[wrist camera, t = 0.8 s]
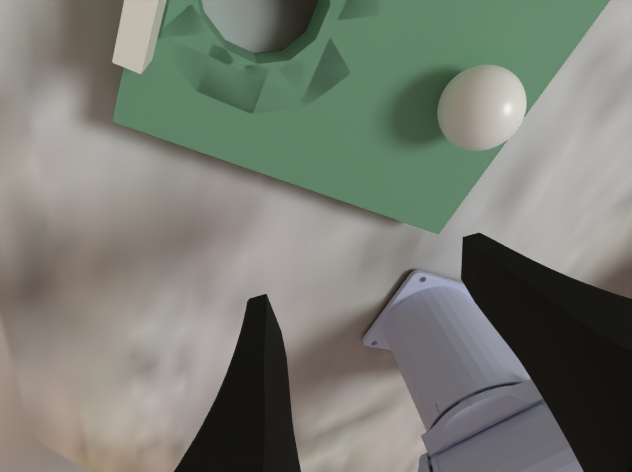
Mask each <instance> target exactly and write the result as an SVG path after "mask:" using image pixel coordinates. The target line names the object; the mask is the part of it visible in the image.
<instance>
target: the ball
mask: <svg viewBox="0 0 632 472" xmlns="http://www.w3.org/2000/svg"><path fill="white" fill-rule="evenodd" d="M526 105H527V101H526V93H525V90H524V87H523V85H522V83H521V82H520V80H519V79H518V78H517V76H516V75H514V74H513V73H512V72H511V71H509V70H507V69H505V68H503V67H500V66H497V65H478V66H474V67H471V68H468V69H466V70H464V71H463V72H461V73H459V74H458V75H457V76H455V77H454V78H453V79H452V80H451V81H450V82H449V83H448V85H447V86H446V87H445V89H444V91H443V93H442V94H441V97H440V100H439V103H438V110H437V117H438V123H439V126H440V129H441V131H442V132H443V134H444V136H445V137H446V138H447V139H448V140H449V141H450V142H451V143H452V144H454V145H456V146H457V147H459V148H462V149H465V150H470V151H482V150H488V149H491V148H494V147H496V146H499V145H500V144H502V143H504V142H505V141H507V140H508V139H509V138H510V137H511V136H512V135H513V134H514V133H515V132H516V131H517V129H518V128H519V126H520V125H521V123H522V121H523V118H524V115H525V112H526Z"/></svg>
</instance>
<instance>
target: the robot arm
mask: <svg viewBox="0 0 632 472" xmlns="http://www.w3.org/2000/svg"><path fill="white" fill-rule="evenodd" d="M422 277H423V278H422ZM420 278H421V279H420ZM461 279H462V281H463V283H462V282H459V281H455V280H452V279H448V278H445V277H441V276H438V275H434V274H431V273H427V272H424V271H420V270H414V271H412V272H411V273H410V274H409V276H408V277H407V278H406V280H405V281H404V283H403V284H402V285H401V287H400V288H399V289H398V291H397V292H396V293H395V295H394V296H393V298H392V299H391V300H390V302H389V303H388V304H387V306H386V307H385V308H384V310H383V311H382V313H381V314H380V315H379V317H378V318H377V319H376V321H375V322H374V323H373V325H372V326H371V328H370V329H369V330H368V332H367V333H366V334H365V336H364V337H363V339H362V342H363V345H364V346H368V347H374V348H380V349H386V350H391V351H392V354H393V356H394V358H395V360H396V363H397V365H398V367H399V369H400V372H401V374H402V376H403V379H404V381H405V383H406V385H407V388H408V390H409V392H410V394H411V397H412V399H413V401H414V404H415V406H416V408H417V410H418V413H419V415H420V417H421V419H422V422H423V424H424V426H425V429H426V431H427V432H426V433H424V434H423V435H422V436H421V437H422V440H423V442H424V444H425V447H426V449H427V451H428V452H427V453H425V454H423V455H421V456H420V459H419V468H418V472H632V299H630V298H627V297H623V296H620V295H617V294H614V293H611V292H608V291H605V290H602V289H599V288H597V287H594V286H591V285H588V284H586V283H583V282H580V281H578V280H575V279H573V278H570V277H568V276H566V275H564V274H561V273H559V272H557V271H554V270H552V269H550V268H548V267H546V266H544V265H541V264H539V263H537V262H535V261H533V260H531V259H529V258H527V257H525V256H523V255H521V254H519V253H517V252H515V251H514V250H512V249H510V248H508V247H506V246H504V245H502V244H500V243H498V242H496V241H495V240H493V239H491V238H489V237H487V236H485V235H483V234H481V233H476V234H473V235H469V236H466V237H463V246H462V270H461ZM174 472H301V469H300V464H299V459H298V453H297V448H296V442H295V437H294V431H293V423H292V413H291V402H290V390H289V379H288V368H287V358H286V352H285V347H284V342H283V338H282V333H281V330H280V327H279V324H278V322H277V319H276V317H275V314H274V312H273V309H272V307H271V304H270V302H269V299H268V297H267V294H264V295H261V296H257V297H254V298H250V299H249V300H248V302H247V307H246V312H245V316H244V320H243V324H242V328H241V332H240V335H239V339H238V342H237V345H236V348H235V352H234V354H233V357H232V360H231V363H230V365H229V368H228V371H227V373H226V376H225V379H224V381H223V383H222V386H221V388H220V390H219V392H218V395H217V397H216V399H215V401H214V403H213V405H212V407H211V409H210V411H209V413H208V415H207V417H206V419H205V421H204V423H203V425H202V426H201V428H200V430H199V432H198V434H197V435H196V437H195V439H194V440H193V442H192V444H191V445H190V447H189V448H188V450H187V452H186V453H185V455H184V457H183V458H182V460H181V461H180V463H179V465H178V466H177V468H176V469H175V471H174Z"/></svg>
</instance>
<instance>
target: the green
mask: <svg viewBox="0 0 632 472" xmlns="http://www.w3.org/2000/svg"><path fill="white" fill-rule="evenodd" d="M609 1H610V0H318V2H317V5H316V7H315V10H314V12H313V15H312V17H311V19H310V22H309V24H308V27H307V29H306V32H304V33H303V34H302V35H301V36H299V37H298V38H297V39H296V40H294V41H293V42H292V43H291V44H289V45H288V46H287V47H286V48H284V49H283V50H281V51H272V52H262V53H251V52H249V51H247V50H245V49H243V48H241V47H239V46H237V45H235V44H232V43H230V42H228V41H226V40H225V39H224V38H223V37H222V35H221V34H220V33H219V31H218V30H217V29H216V27H215V26H214V25H213V23H212V22H211V21H210V19H209V18H208V17H207V15H206V14H205V13H204V10H203V5H202V1H201V0H124V4H123V9H122V14H121V19H120V24H119V29H118V34H117V39H116V45H115V50H114V55H113V60H112V63H114V64H117V65H119V66H122V67H123V72H122V76H121V81H120V86H119V91H118V95H117V100H116V105H115V110H114V114H113V119H112V122H114V123H117V124H120V125H123V126H126V127H128V128H131V129H134V130H137V131H140V132H143V133H146V134H149V135H152V136H155V137H157V138H160V139H163V140H166V141H169V142H172V143H175V144H178V145H181V146H184V147H186V148H189V149H192V150H195V151H198V152H201V153H204V154H207V155H210V156H213V157H215V158H218V159H221V160H224V161H227V162H230V163H233V164H236V165H239V166H242V167H244V168H247V169H250V170H253V171H256V172H259V173H262V174H265V175H268V176H271V177H274V178H276V179H279V180H282V181H285V182H288V183H291V184H294V185H297V186H300V187H303V188H305V189H308V190H311V191H314V192H317V193H320V194H323V195H326V196H329V197H332V198H334V199H337V200H340V201H343V202H346V203H349V204H352V205H355V206H358V207H361V208H363V209H366V210H369V211H372V212H375V213H378V214H381V215H384V216H387V217H390V218H392V219H395V220H398V221H401V222H404V223H407V224H410V225H413V226H416V227H419V228H421V229H424V230H427V231H430V232H433V233H436V234H439V233H440V232H441V230H442V229H443V227H444V226H445V225H446V223H447V222H448V221H449V219H450V218H451V217H452V215H453V214H454V212H455V211H456V210H457V208H458V207H459V206H460V204H461V203H462V202H463V200H464V199H465V197H466V196H467V195H468V193H469V192H470V191H471V189H472V188H473V187H474V185H475V184H476V182H477V181H478V180H479V178H480V177H481V176H482V174H483V173H484V172H485V170H486V169H487V167H488V166H489V165H490V163H491V162H492V161H493V159H494V158H495V157H496V155H497V154H498V152H499V151H500V150H501V148H502V147H503V146H504V144H505V143H506V142H507V141H505V142H504V143H502V144H500V145H499V146H496V147H494V148H491V149H488V150H482V151H470V150H465V149H462V148H459V147H457V146H456V145H454V144H452V143H451V142H450V141H449V140H448V139H447V138H446V137H445V136H444V134H443V132H442V131H441V129H440V126H439V123H438V117H437V110H438V103H439V100H440V97H441V94H442V93H443V91H444V89H445V87H446V86H447V85H448V83H449V82H450V81H451V80H452V79H453V78H454V77H455V76H457V75H458V74H459V73H461V72H463V71H464V70H466V69H468V68H471V67H474V66H478V65H497V66H500V67H503V68H505V69H507V70H509V71H511V72H512V73H513V74H514V75H516V76H517V78H518V79H519V80H520V82H521V83H522V85H523V87H524V90H525V93H526V101H527V105H526V112H525V115H524V117H525V116H526V114H527V113H528V111H529V110H530V109H531V107H532V106H533V105H534V103H535V102H536V101H537V99H538V98H539V96H540V95H541V94H542V92H543V91H544V90H545V88H546V87H547V86H548V84H549V83H550V81H551V80H552V79H553V77H554V76H555V75H556V73H557V72H558V71H559V69H560V68H561V66H562V65H563V64H564V62H565V61H566V60H567V58H568V57H569V56H570V54H571V53H572V51H573V50H574V49H575V47H576V46H577V45H578V43H579V42H580V41H581V39H582V38H583V36H584V35H585V34H586V32H587V31H588V30H589V28H590V27H591V26H592V24H593V23H594V21H595V20H596V19H597V17H598V16H599V15H600V13H601V12H602V11H603V9H604V8H605V6H606V5H607V4H608V2H609Z"/></svg>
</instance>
